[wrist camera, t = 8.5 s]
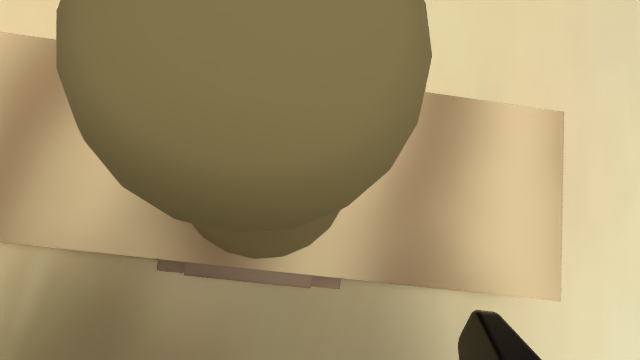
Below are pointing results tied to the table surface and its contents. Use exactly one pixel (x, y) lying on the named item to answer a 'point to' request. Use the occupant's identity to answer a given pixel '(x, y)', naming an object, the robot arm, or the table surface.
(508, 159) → the plank
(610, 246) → the table surface
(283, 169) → the olive pawn
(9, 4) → the table surface
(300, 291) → the table surface
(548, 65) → the table surface
